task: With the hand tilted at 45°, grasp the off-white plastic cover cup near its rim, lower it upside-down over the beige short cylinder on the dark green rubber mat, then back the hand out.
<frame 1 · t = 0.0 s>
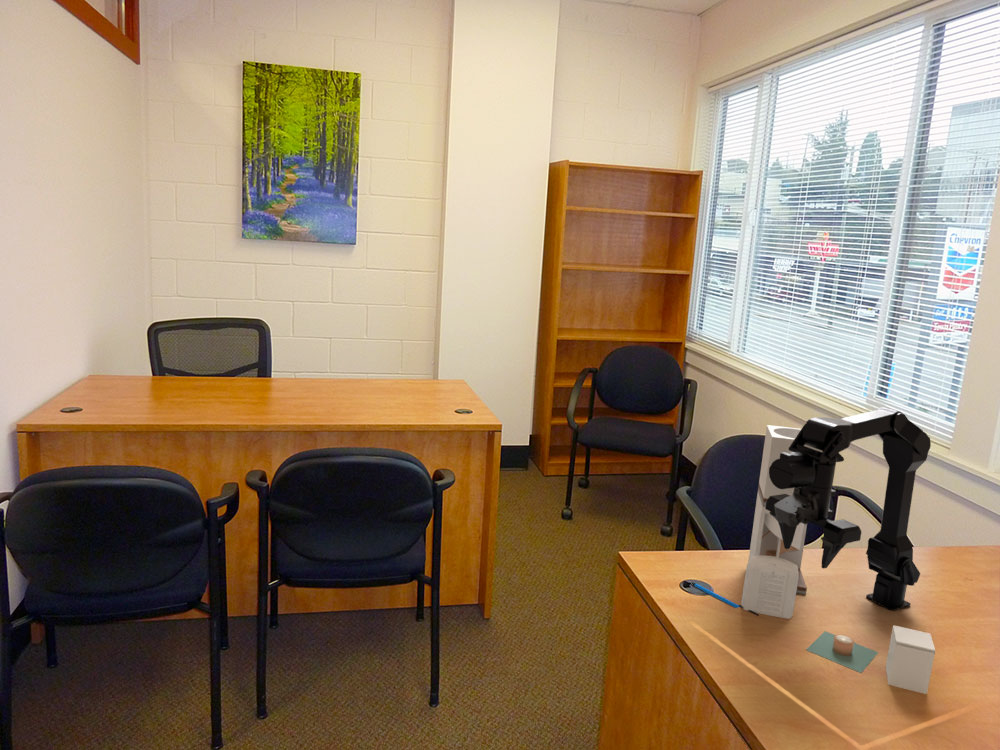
hand: (805, 558, 148), 15 cm above the table, tool pointing down, fingers open, 9 cm apart
cover: (905, 683, 133), on the table
beige short cylinder: (842, 651, 142), point 1 cm above the table, touching mat
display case: (775, 582, 170), on the table
photo printer: (766, 613, 156), on the table
pen: (724, 603, 160), on the table
mat: (841, 653, 142), on the table
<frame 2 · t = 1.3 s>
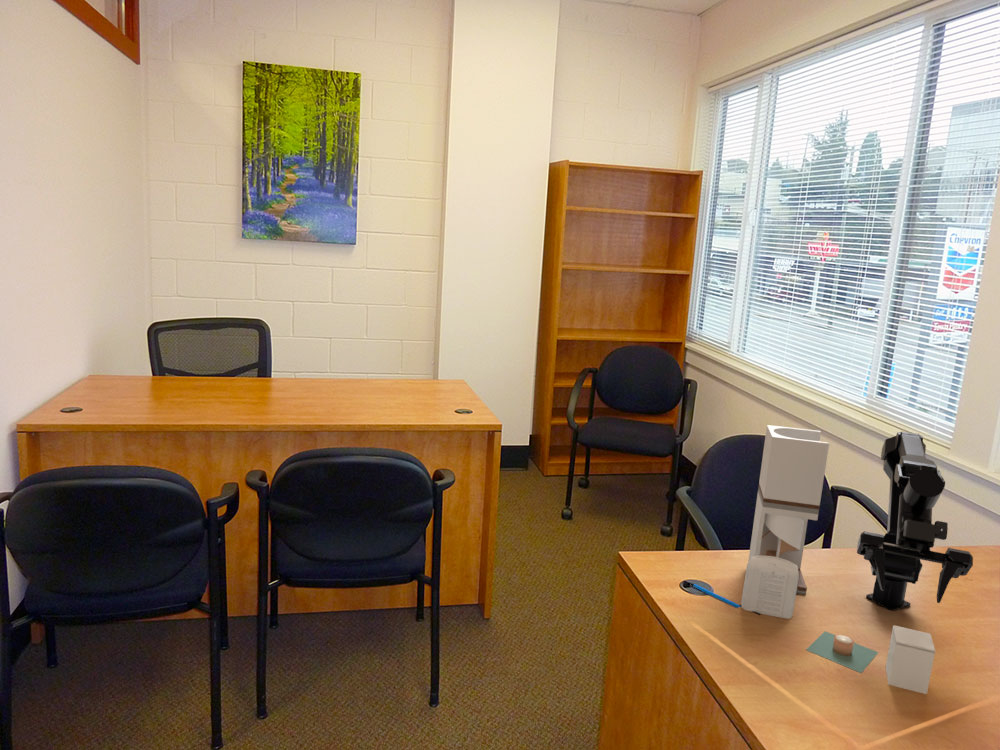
hand: (910, 596, 138), 13 cm above the table, tool tilted 45°, fingers open, 9 cm apart
nothing on the table moved.
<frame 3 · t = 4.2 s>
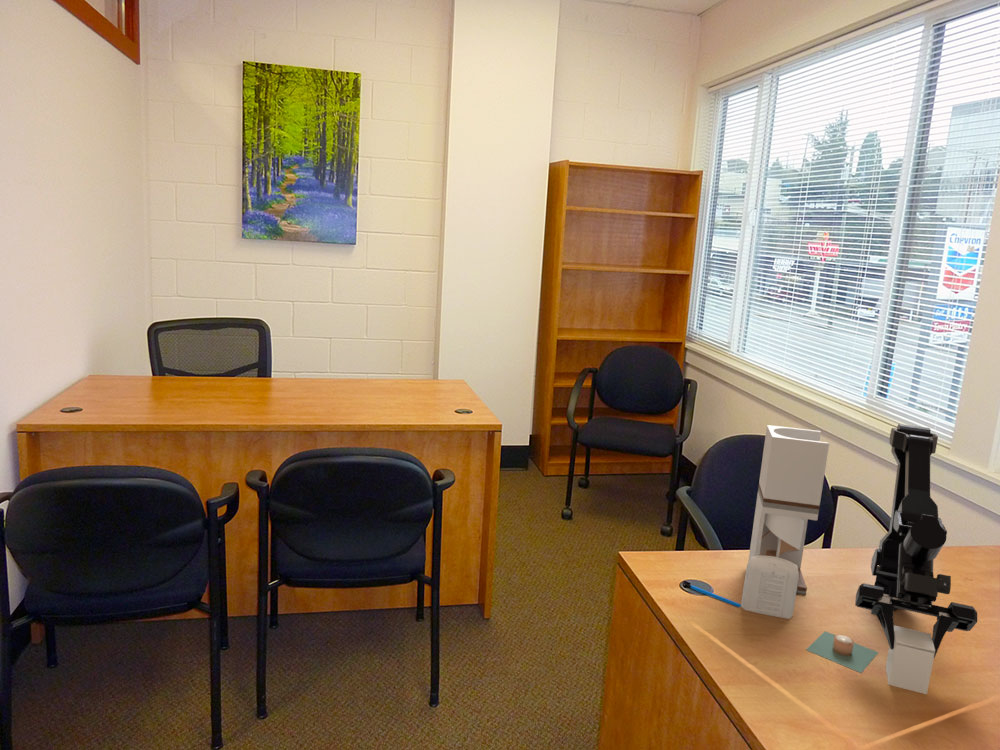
hand: (912, 653, 131), 7 cm above the table, tool tilted 45°, fingers closed on cover, 6 cm apart
cover: (905, 683, 133), on the table, touching gripper
when the fingers open (8 cm above the table, at t = 9.1 s): cover stays where it is, resting on mat.
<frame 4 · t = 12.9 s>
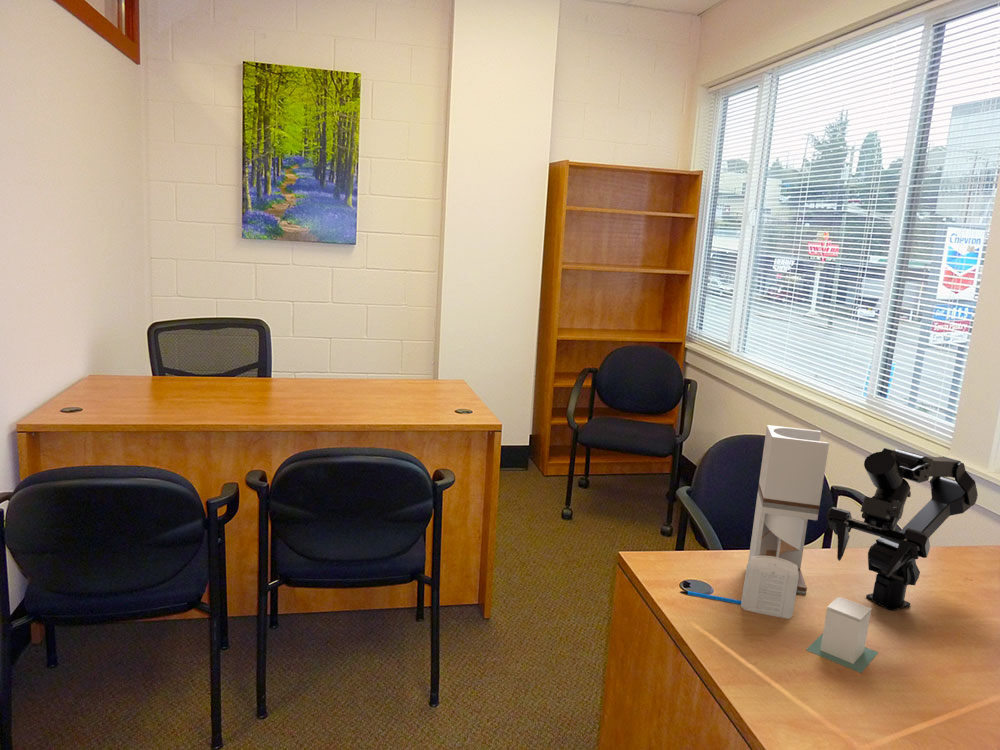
hand: (862, 567, 148), 14 cm above the table, tool tilted 45°, fingers open, 9 cm apart
cover: (842, 651, 142), point 1 cm above the table, touching mat
at the end: cover 0.0 cm from the beige short cylinder (horizontally); cover point 0.6 cm above the table; cover tilted 0° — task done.
